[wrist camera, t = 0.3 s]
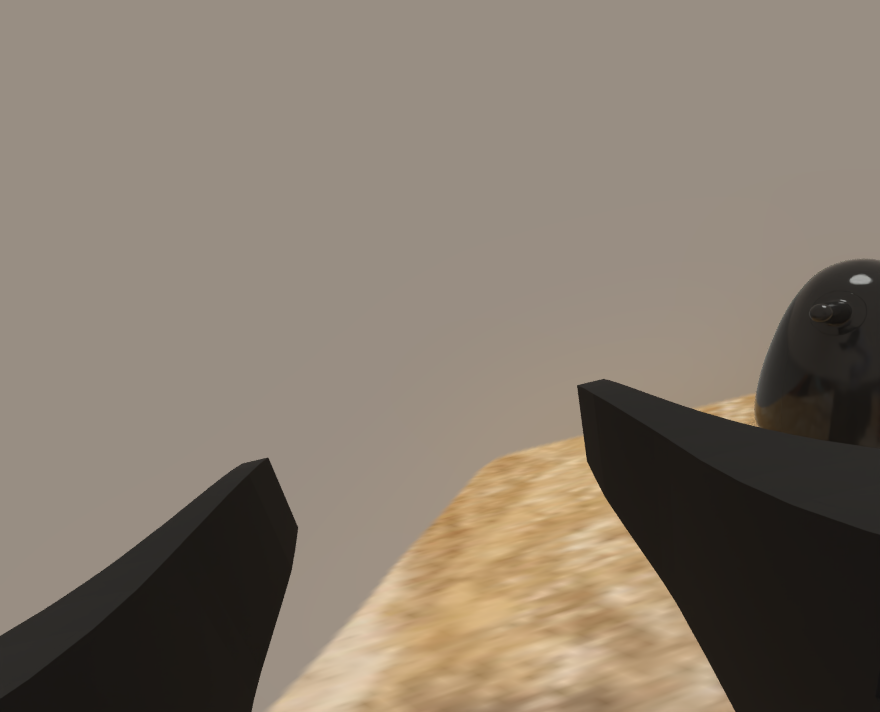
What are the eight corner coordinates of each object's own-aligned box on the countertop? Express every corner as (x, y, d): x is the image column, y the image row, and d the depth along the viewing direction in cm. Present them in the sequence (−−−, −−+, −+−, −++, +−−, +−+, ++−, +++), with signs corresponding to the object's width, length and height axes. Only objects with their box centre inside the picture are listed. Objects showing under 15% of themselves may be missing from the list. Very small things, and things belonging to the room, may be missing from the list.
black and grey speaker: (725, 470, 35) (722, 285, 29) (791, 406, 40) (800, 234, 34) (905, 542, 27) (954, 305, 21) (964, 452, 31) (1018, 233, 25)
